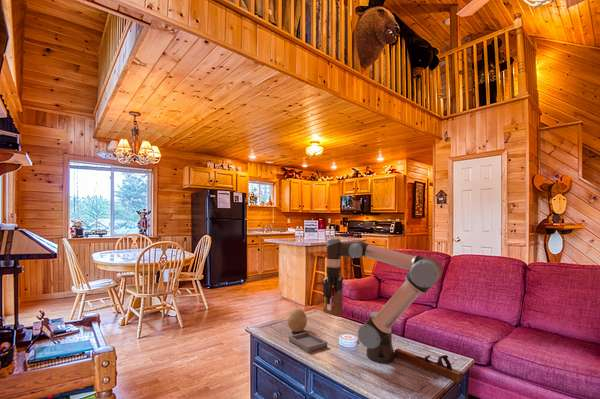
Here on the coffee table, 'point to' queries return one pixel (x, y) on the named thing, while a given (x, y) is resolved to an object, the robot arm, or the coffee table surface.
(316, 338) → the tray
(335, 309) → the brown wooden piece
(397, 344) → the coffee table surface
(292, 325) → the fossilized egg
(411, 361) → the hand plane
